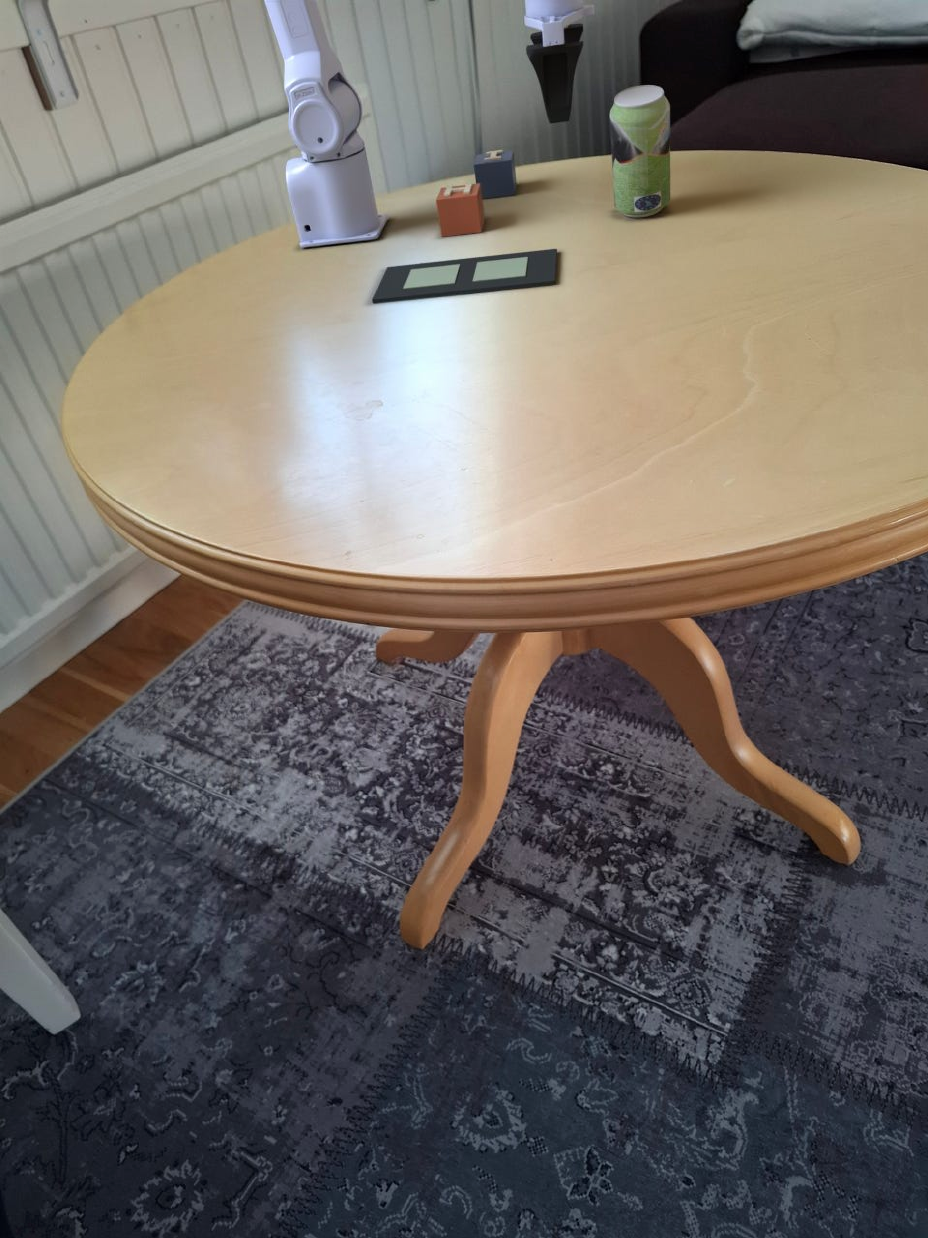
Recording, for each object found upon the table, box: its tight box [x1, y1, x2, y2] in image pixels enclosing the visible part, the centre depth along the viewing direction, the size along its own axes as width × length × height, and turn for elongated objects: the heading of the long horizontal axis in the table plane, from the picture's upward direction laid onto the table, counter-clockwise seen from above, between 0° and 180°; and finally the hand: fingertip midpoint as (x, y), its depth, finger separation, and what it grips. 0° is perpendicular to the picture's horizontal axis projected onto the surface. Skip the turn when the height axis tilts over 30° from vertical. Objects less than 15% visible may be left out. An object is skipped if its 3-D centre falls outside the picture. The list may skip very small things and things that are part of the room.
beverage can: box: [608, 84, 671, 219], centre depth 93 cm, size 6×7×12 cm
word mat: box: [371, 248, 558, 304], centre depth 89 cm, size 18×9×1 cm, turn 84°
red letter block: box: [435, 182, 486, 238], centre depth 100 cm, size 5×5×4 cm
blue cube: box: [473, 149, 518, 200], centre depth 110 cm, size 5×5×4 cm
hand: (560, 113), depth 95 cm, fingers open, 7 cm apart
